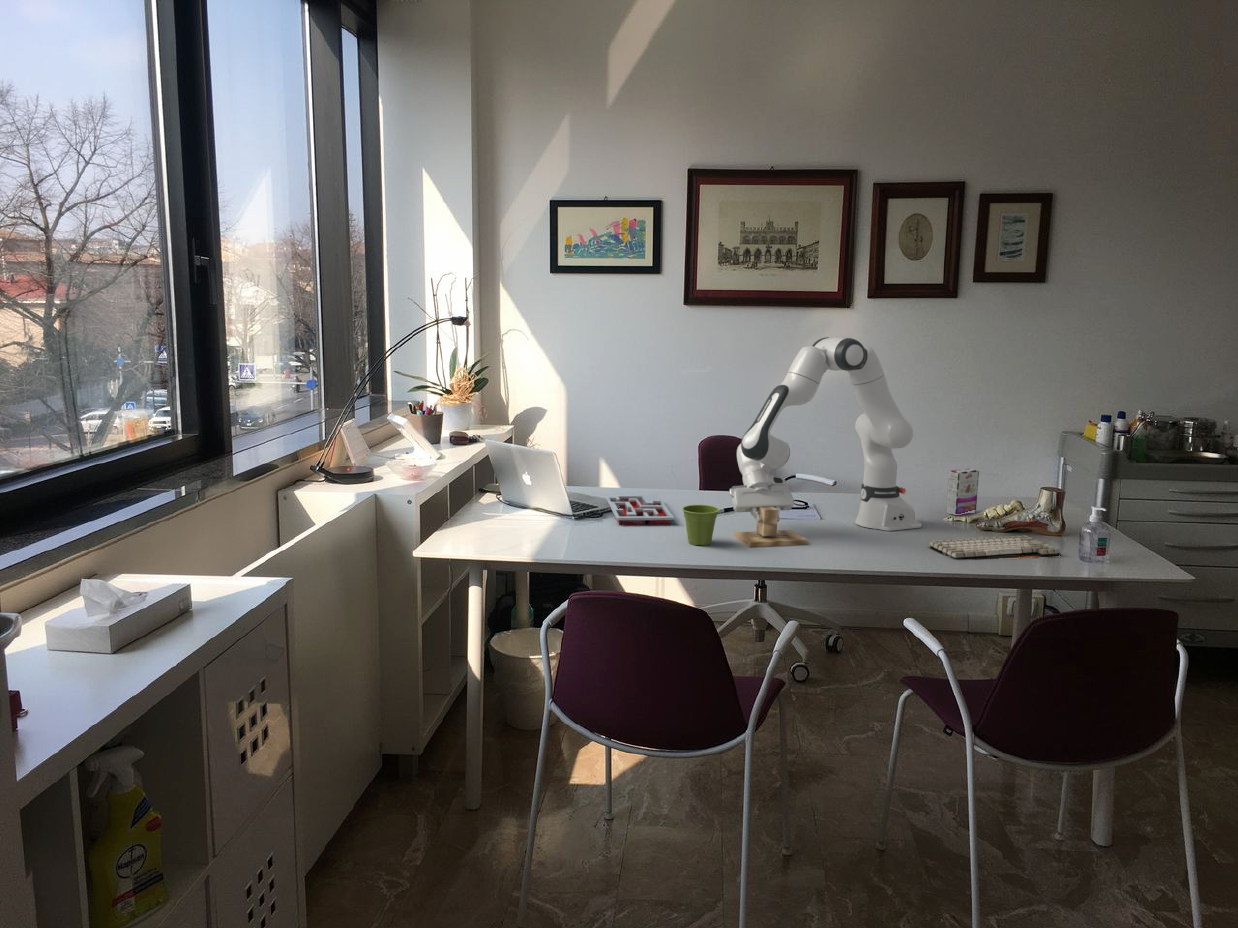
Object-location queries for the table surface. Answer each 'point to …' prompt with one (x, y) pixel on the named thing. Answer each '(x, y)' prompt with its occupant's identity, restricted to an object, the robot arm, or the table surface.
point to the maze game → (639, 509)
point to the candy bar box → (962, 490)
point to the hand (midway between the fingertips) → (768, 521)
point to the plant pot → (700, 523)
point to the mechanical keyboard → (994, 548)
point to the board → (771, 539)
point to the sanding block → (767, 522)
